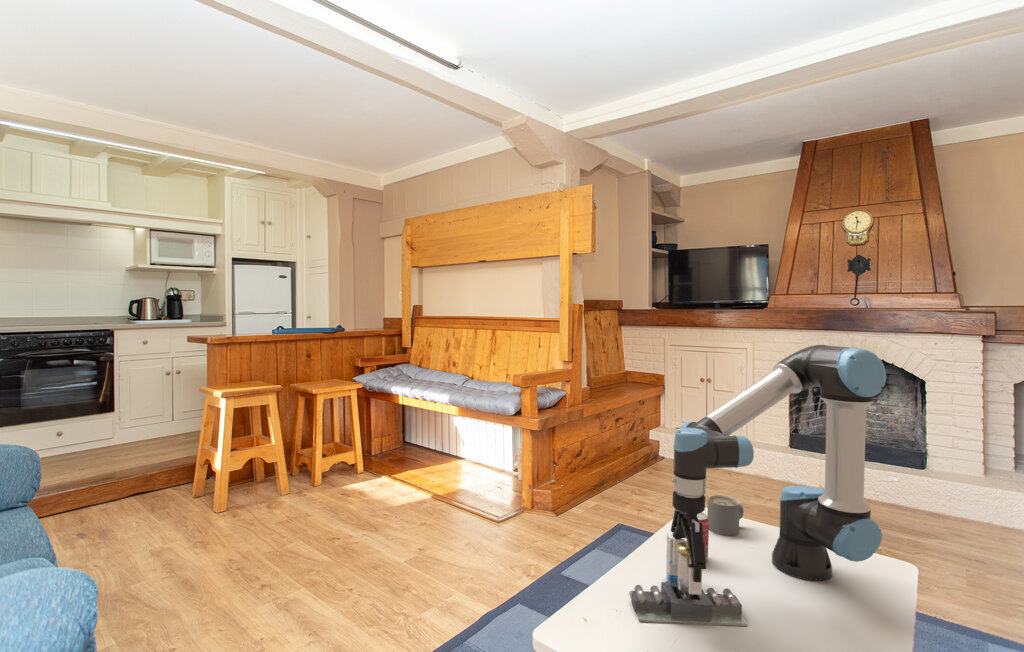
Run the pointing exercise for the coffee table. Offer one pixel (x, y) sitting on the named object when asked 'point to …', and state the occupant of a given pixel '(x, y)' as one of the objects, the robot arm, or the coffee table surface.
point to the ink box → (671, 560)
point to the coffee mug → (724, 515)
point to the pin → (683, 571)
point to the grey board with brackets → (686, 606)
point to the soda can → (704, 531)
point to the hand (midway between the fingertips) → (686, 578)
